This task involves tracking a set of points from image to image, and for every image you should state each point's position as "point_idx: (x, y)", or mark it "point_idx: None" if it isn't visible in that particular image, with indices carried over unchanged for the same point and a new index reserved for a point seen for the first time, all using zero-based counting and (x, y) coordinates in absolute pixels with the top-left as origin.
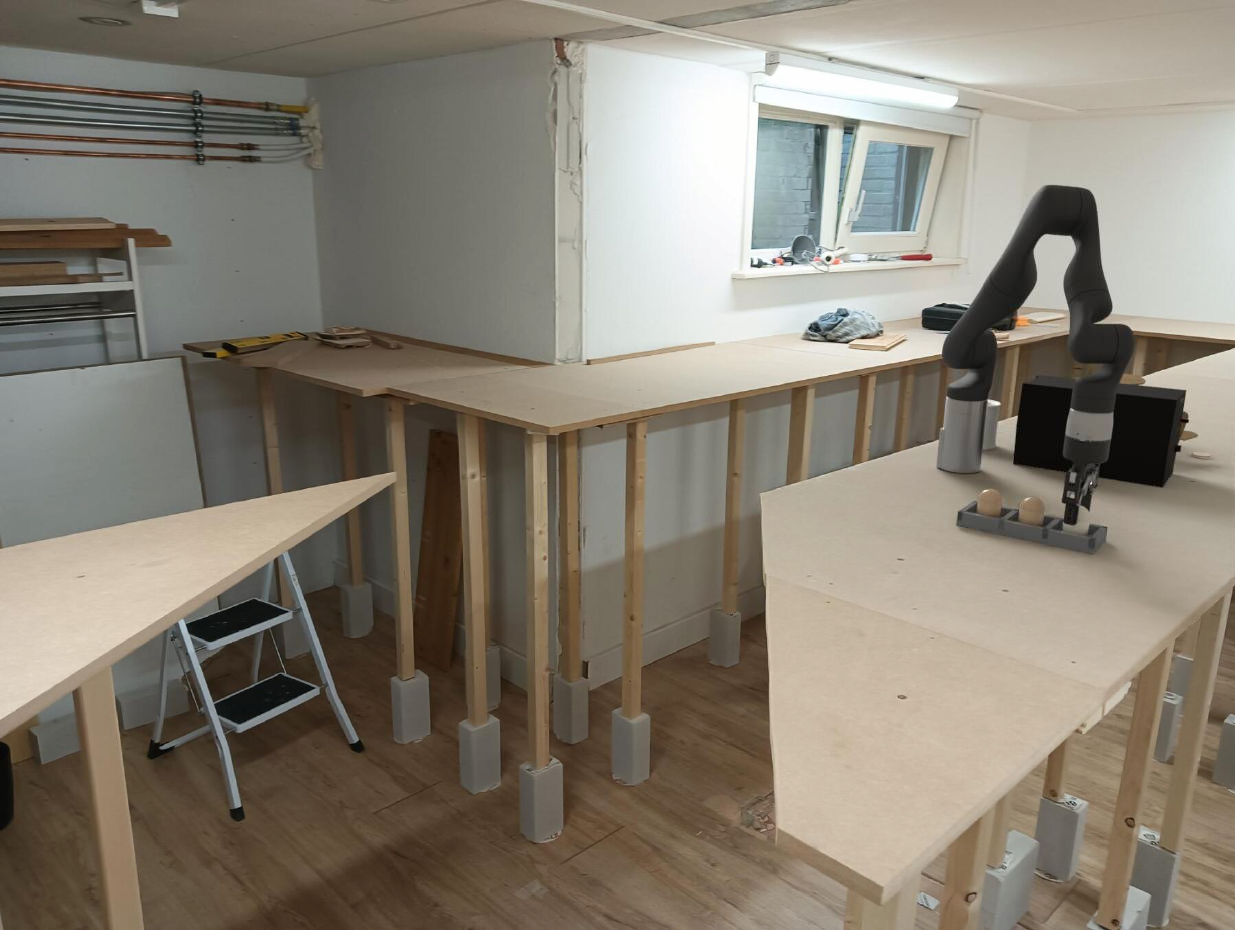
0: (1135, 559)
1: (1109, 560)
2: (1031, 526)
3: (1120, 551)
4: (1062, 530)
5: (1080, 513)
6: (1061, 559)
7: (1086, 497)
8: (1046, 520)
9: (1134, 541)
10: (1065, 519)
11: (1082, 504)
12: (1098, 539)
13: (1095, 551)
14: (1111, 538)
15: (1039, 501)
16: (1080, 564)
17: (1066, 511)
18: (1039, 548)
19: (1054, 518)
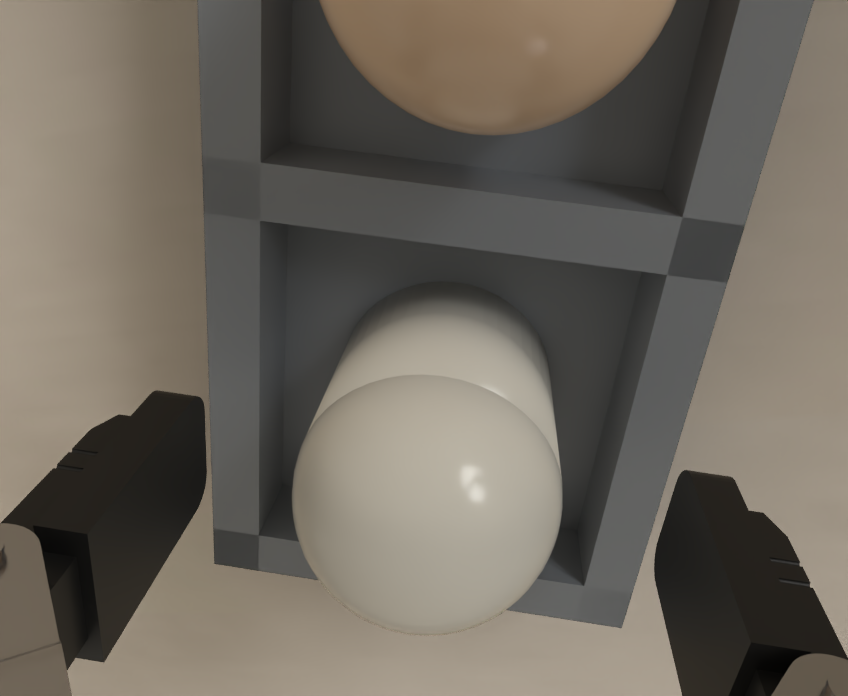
0: (330, 676)
1: (211, 569)
2: (210, 20)
3: None
4: (397, 309)
5: (313, 568)
6: (2, 323)
7: (704, 688)
8: (699, 109)
9: None
10: (95, 433)
11: (688, 576)
12: None
13: None
14: None
15: (425, 63)
16: (7, 436)
17: (39, 492)
18: (118, 139)
19: (683, 204)
